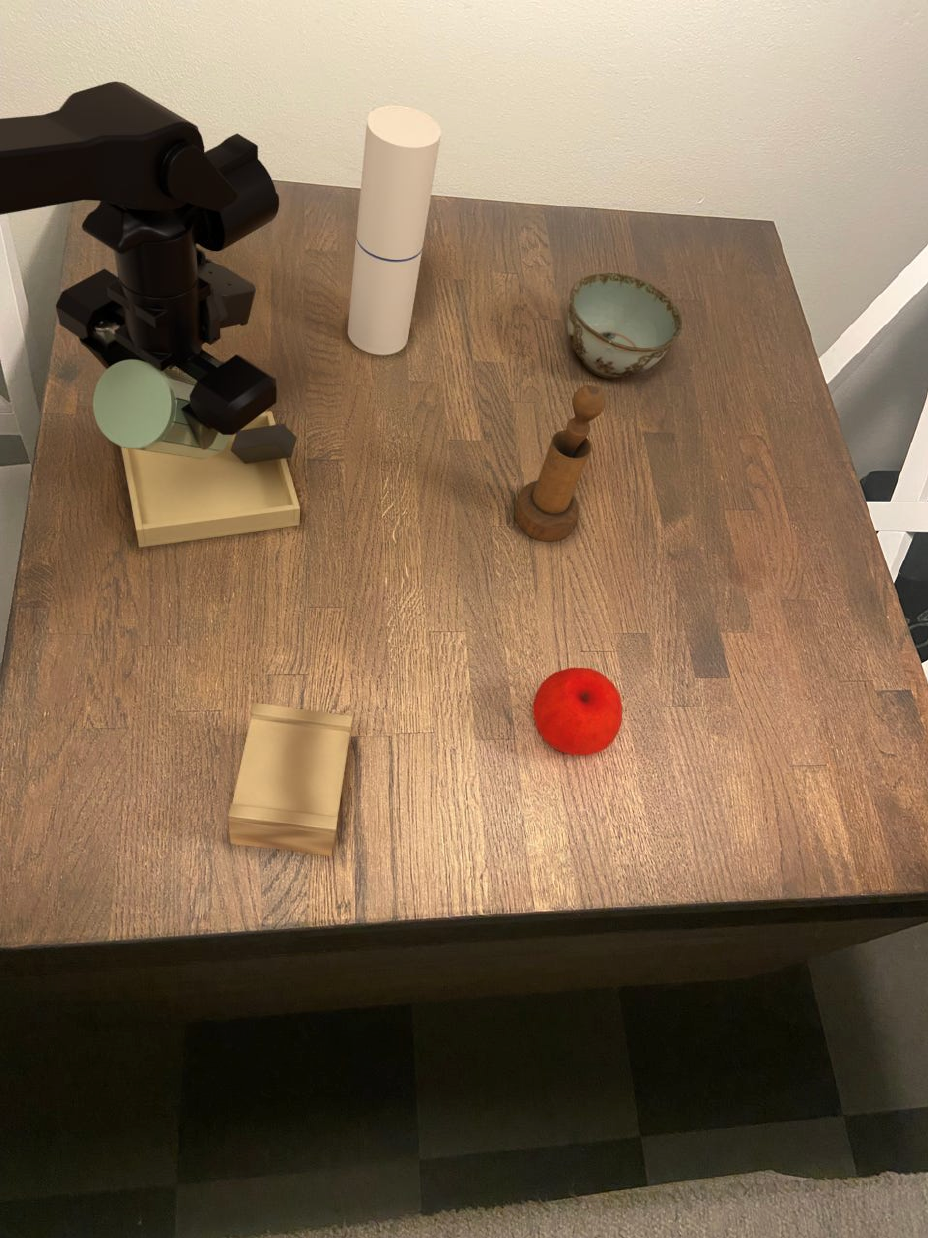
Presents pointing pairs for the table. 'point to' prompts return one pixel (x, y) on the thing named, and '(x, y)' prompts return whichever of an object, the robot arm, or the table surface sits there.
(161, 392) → the grooved sage-green cylinder
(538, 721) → the apple
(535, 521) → the mortar and pestle
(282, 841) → the wooden block
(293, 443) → the black block
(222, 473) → the tray
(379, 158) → the cylindrical container
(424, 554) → the table surface
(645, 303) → the bowl
